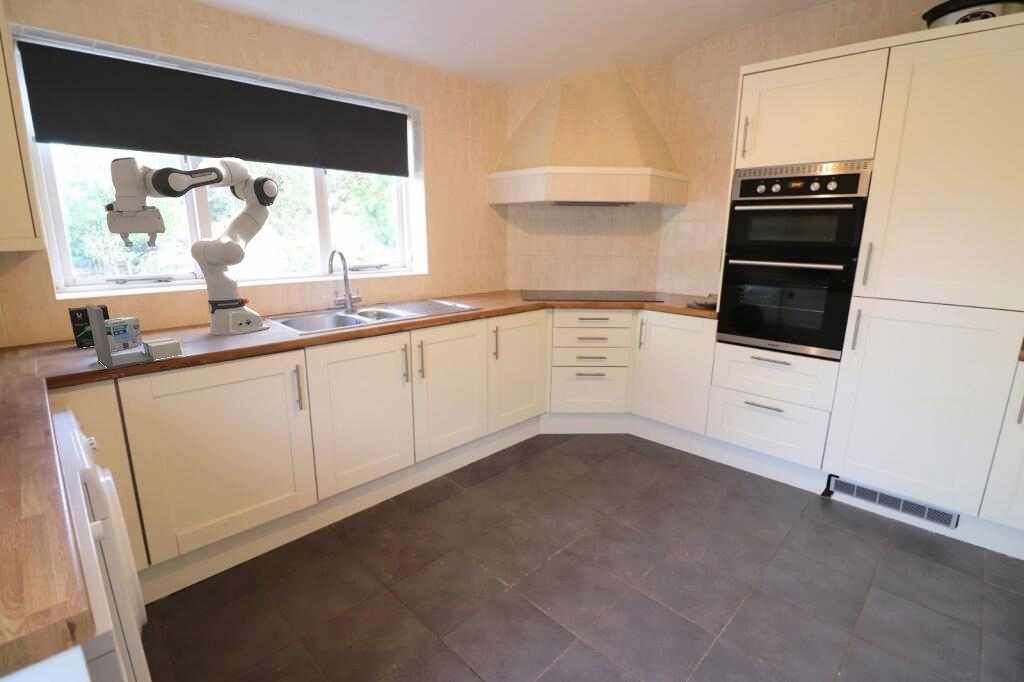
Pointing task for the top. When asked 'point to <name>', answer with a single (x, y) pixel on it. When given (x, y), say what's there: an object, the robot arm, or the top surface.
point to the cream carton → (162, 348)
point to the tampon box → (84, 325)
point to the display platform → (103, 344)
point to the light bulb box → (123, 332)
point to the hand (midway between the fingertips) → (140, 246)
